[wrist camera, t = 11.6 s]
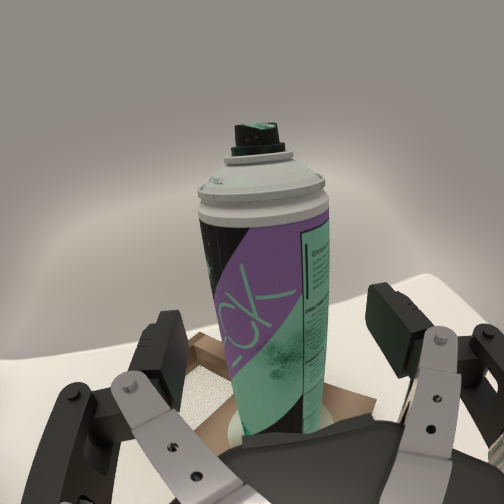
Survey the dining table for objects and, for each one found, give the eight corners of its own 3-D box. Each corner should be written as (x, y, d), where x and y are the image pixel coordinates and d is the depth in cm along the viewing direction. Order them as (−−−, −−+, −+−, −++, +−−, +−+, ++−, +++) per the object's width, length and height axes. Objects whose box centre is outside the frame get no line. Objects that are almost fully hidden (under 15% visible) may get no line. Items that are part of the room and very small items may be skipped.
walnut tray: (126, 411, 24) (114, 391, 23) (204, 351, 33) (199, 330, 31) (300, 530, 12) (301, 522, 11) (370, 418, 21) (377, 398, 20)
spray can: (267, 395, 22) (237, 127, 14) (329, 415, 19) (339, 119, 12) (230, 442, 18) (157, 135, 10) (298, 471, 15) (289, 113, 7)
